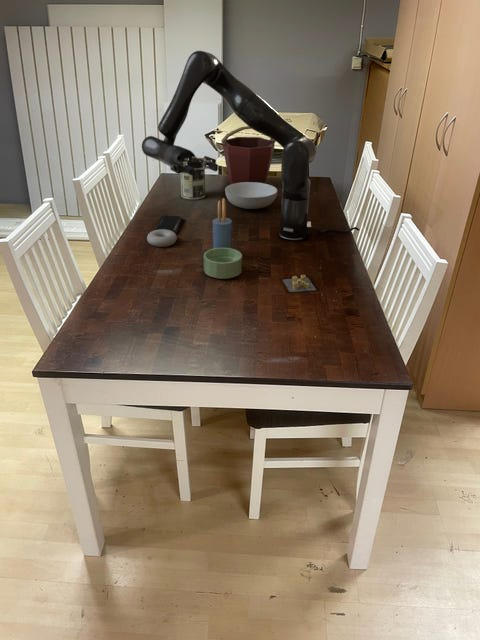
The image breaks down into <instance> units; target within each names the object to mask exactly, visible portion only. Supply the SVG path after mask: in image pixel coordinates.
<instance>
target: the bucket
mask: <svg viewBox="0 0 480 640" xmlns="http://www.w3.org/2000/svg"><path fill="white" fill-rule="evenodd" d="M244 130H253V129H252V128H250V127H249V126H248V125H245V126H241V127H238V128H236V129H233V130H232V131H230V132H228V133H226V134H225V135H224V137H222V139H221V144H222V150H223V155H224V162H225V166H226V173H227V178H228V183H229V185H231V184H235V183H241V182H256V183H264V184H267V182H268V177H269V173H270V169H271V164H272V162H273V161H272V160H273V156H274V151H275V144H276V143H277V142H276V141H275V140H273V139H271V138H270V137H269V139H268V138H264V137H261V136H234V137H231V136H233V135H235V134H237V133H239V132H242V131H244ZM230 137H231V138H230Z"/></svg>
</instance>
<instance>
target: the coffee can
mask: <svg viewBox="0 0 480 640" xmlns="http://www.w3.org/2000/svg"><path fill="white" fill-rule="evenodd" d="M200 167H203V164H202V163H201V166H200ZM180 190H181V191H180V193H181V195H180V197H181V198H183V199H184V200H191V201H192V200H193V201H194V200H200V199H204V198H205V197H206V169H204V170H200V169H196V170H194V175H190V174H188V173H182V172H181V173H180Z"/></svg>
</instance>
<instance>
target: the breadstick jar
mask: <svg viewBox="0 0 480 640" xmlns="http://www.w3.org/2000/svg"><path fill="white" fill-rule="evenodd" d="M221 200H222V201H221ZM221 200H218V201H217V217H215V218H213V219H212V249H213V248H231V249H233V247H232V245H233V220H232V219H231V218H228V217H227V203H226V198H225V197H223V198H221Z"/></svg>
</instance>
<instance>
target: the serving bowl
mask: <svg viewBox="0 0 480 640" xmlns="http://www.w3.org/2000/svg"><path fill="white" fill-rule="evenodd" d="M224 191H225V192H224V193H225V197H226V199H227V201H228V202H229V203H230V204H231V205H233V206H235V207H237V208H242V209H245V210H258V209H262V208H263V209H264V208H266V207H268V206H270V205H271V204H273V202H274V201H275V200H276V198H277V196H278V189H277V187H275V186H273V185H271V184H268V183H266V184H264V183H256V182H241V183H235V184H231V185H230V184H229V185H227V186H226V187H225V188H224Z"/></svg>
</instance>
